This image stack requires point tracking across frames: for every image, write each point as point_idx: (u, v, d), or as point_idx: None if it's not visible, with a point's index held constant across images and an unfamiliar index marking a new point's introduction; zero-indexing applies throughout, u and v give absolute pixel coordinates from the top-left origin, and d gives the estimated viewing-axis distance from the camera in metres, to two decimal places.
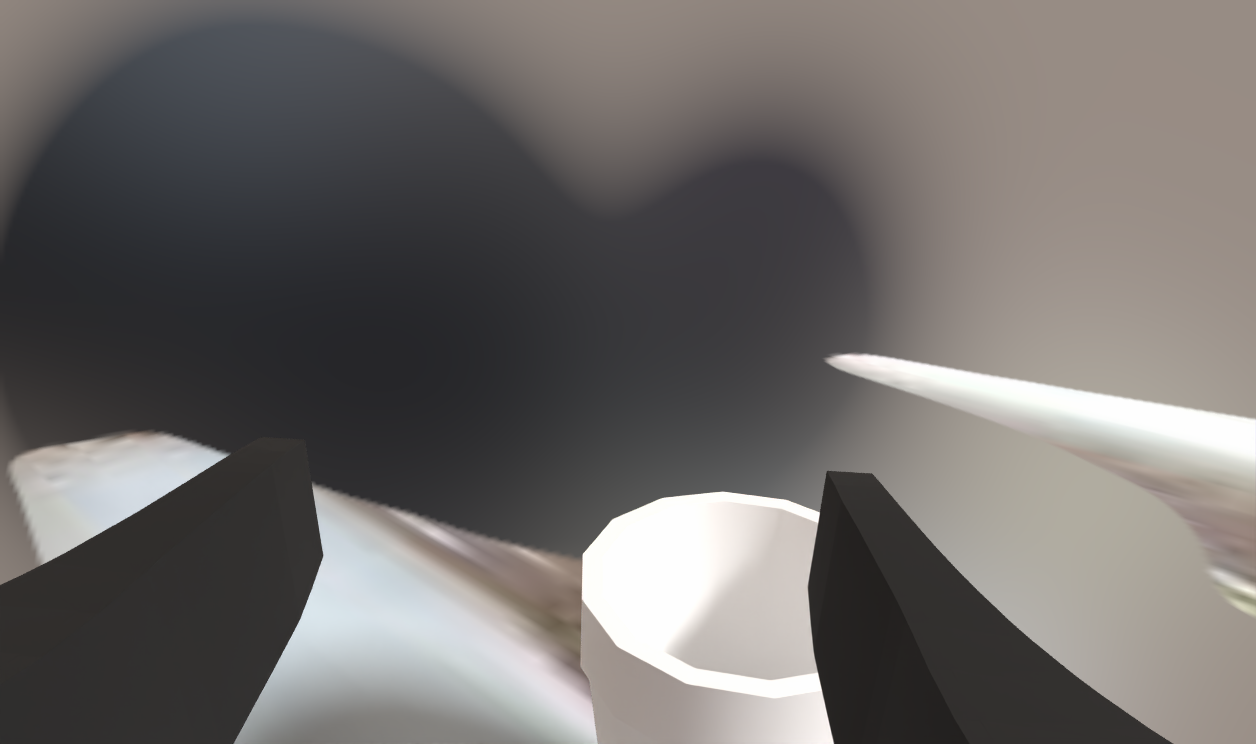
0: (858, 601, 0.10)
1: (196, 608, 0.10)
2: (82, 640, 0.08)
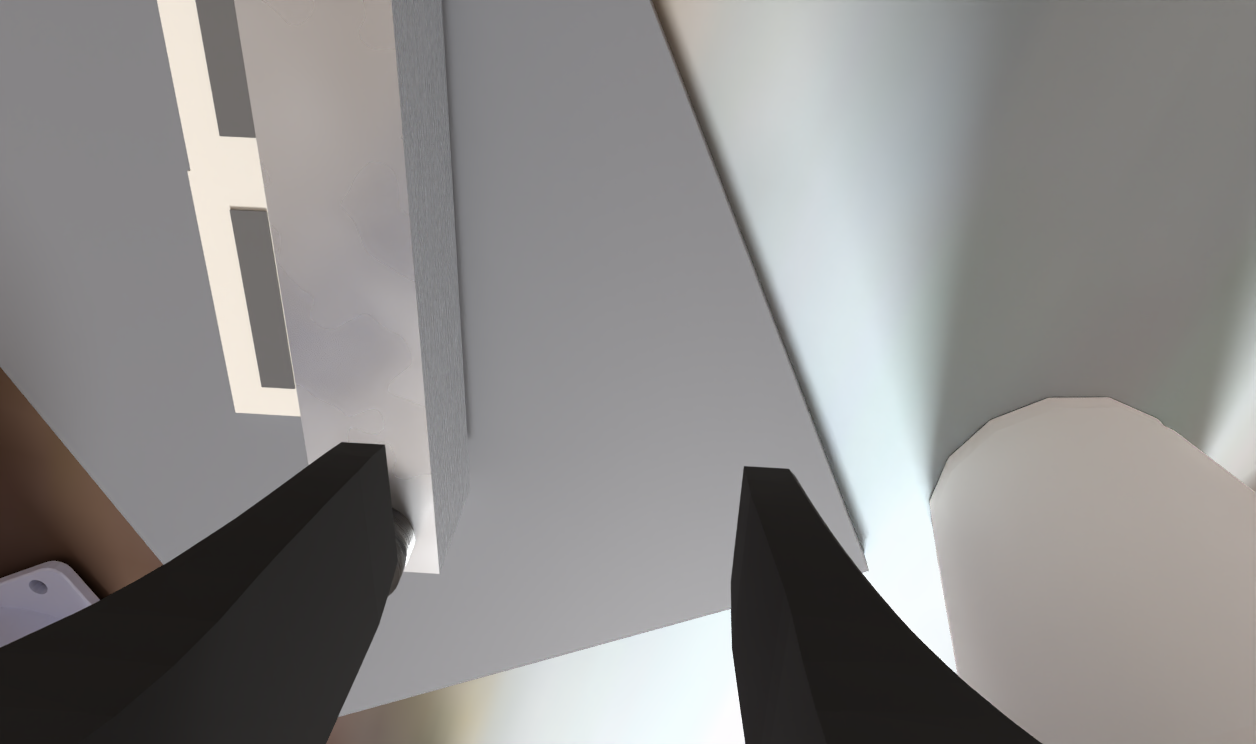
0: (761, 595, 0.10)
1: (295, 614, 0.10)
2: (205, 648, 0.08)
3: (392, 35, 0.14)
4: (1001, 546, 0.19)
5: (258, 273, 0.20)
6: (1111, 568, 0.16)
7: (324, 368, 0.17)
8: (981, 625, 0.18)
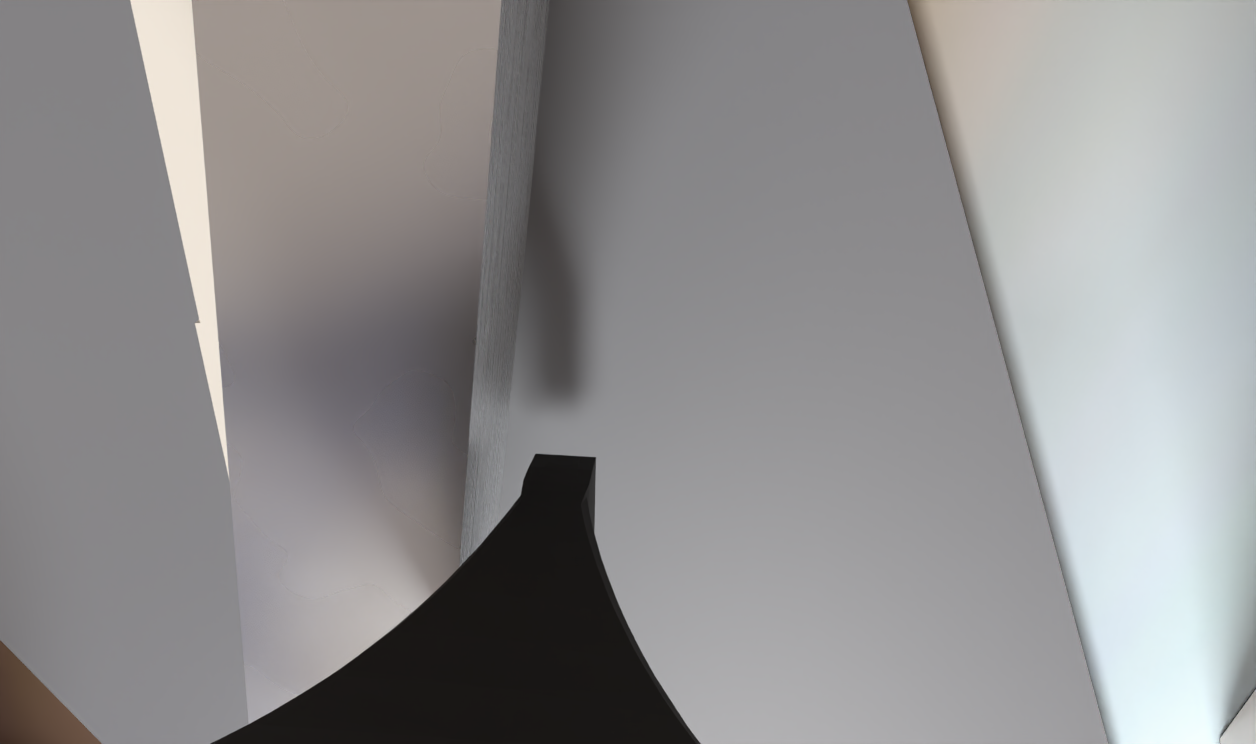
0: None
1: None
2: (529, 670, 0.08)
3: (483, 177, 0.08)
4: None
5: None
6: None
7: (293, 649, 0.11)
8: None
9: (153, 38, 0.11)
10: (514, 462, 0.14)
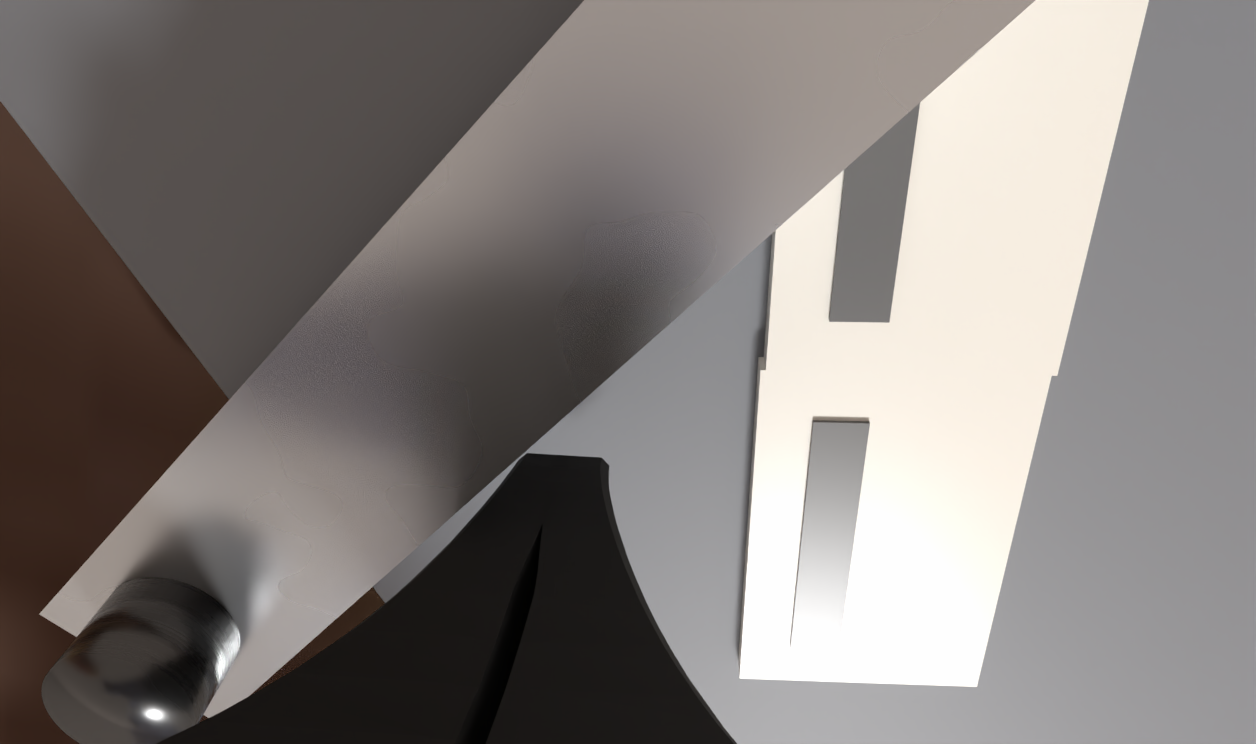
0: None
1: None
2: (490, 667, 0.08)
3: (925, 91, 0.07)
4: None
5: (831, 505, 0.14)
6: None
7: (316, 398, 0.09)
8: None
9: None
10: (1037, 497, 0.14)
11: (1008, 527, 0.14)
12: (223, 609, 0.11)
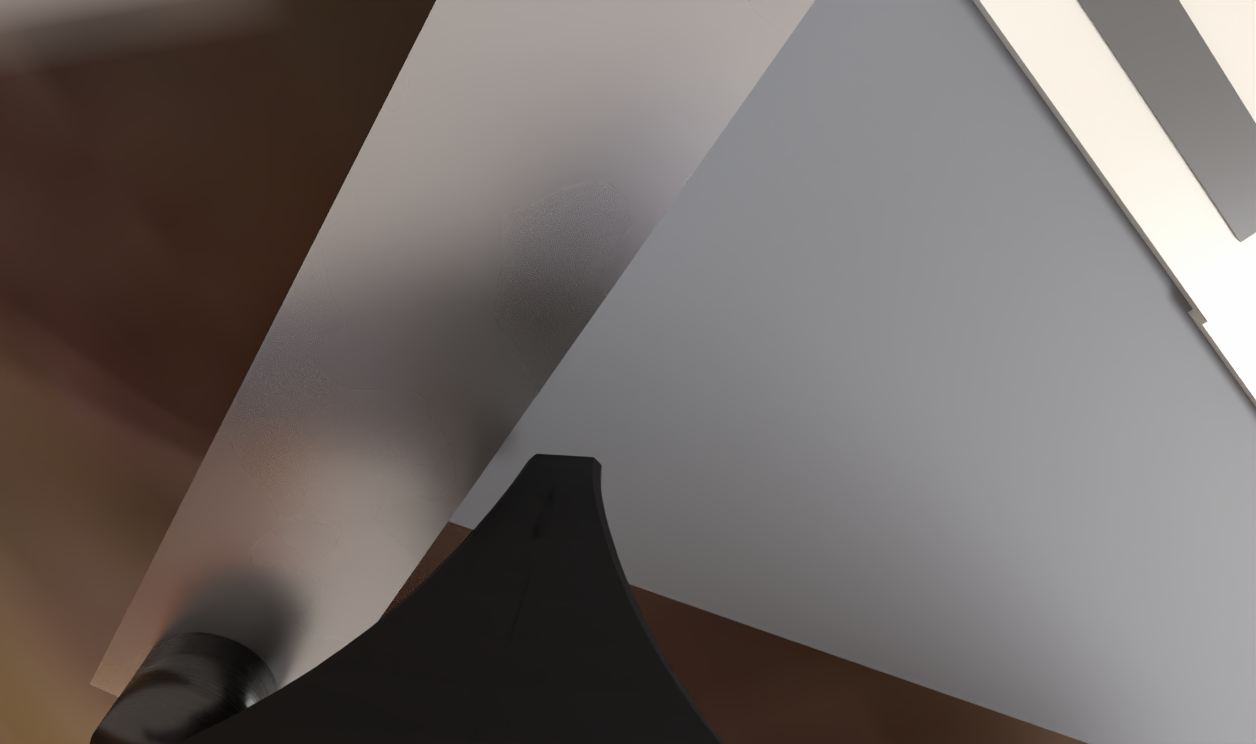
0: None
1: None
2: (505, 668, 0.08)
3: (802, 9, 0.07)
4: None
5: None
6: None
7: (287, 433, 0.09)
8: None
9: (1067, 92, 0.11)
10: None
11: None
12: (253, 654, 0.11)
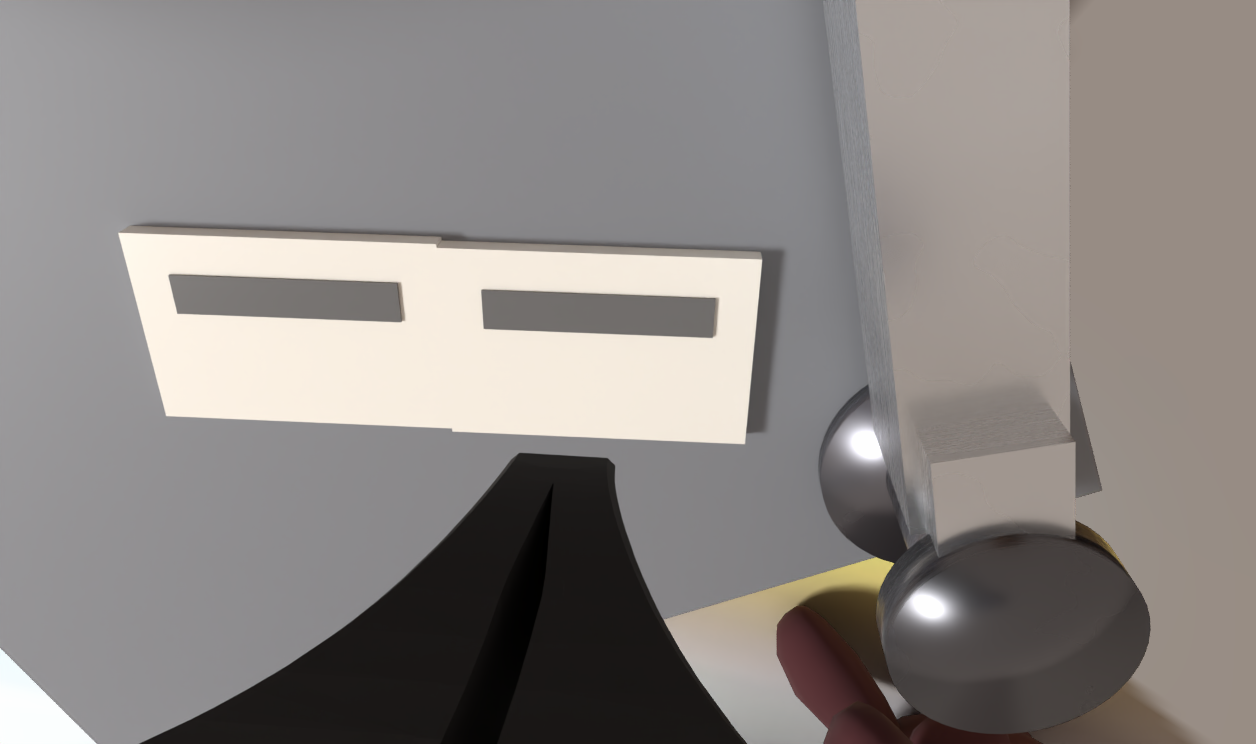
0: None
1: (516, 628, 0.10)
2: (478, 667, 0.08)
3: (883, 251, 0.13)
4: None
5: (323, 300, 0.17)
6: None
7: None
8: None
9: (643, 265, 0.17)
10: (348, 430, 0.19)
11: (325, 418, 0.19)
12: None
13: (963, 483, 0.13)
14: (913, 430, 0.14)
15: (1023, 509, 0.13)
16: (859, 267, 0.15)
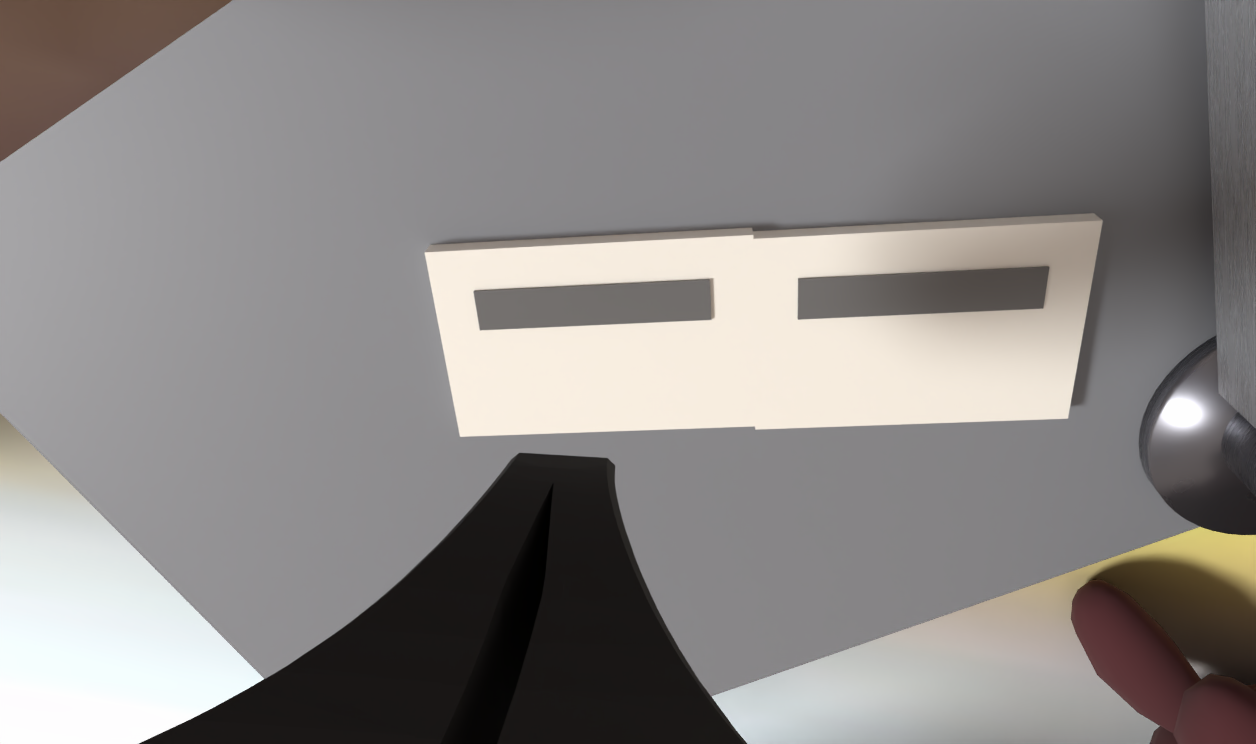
0: None
1: (516, 629, 0.10)
2: (478, 667, 0.08)
3: None
4: None
5: (632, 304, 0.17)
6: None
7: None
8: None
9: (973, 237, 0.16)
10: (639, 437, 0.19)
11: (623, 426, 0.18)
12: None
13: None
14: None
15: None
16: (1232, 217, 0.14)
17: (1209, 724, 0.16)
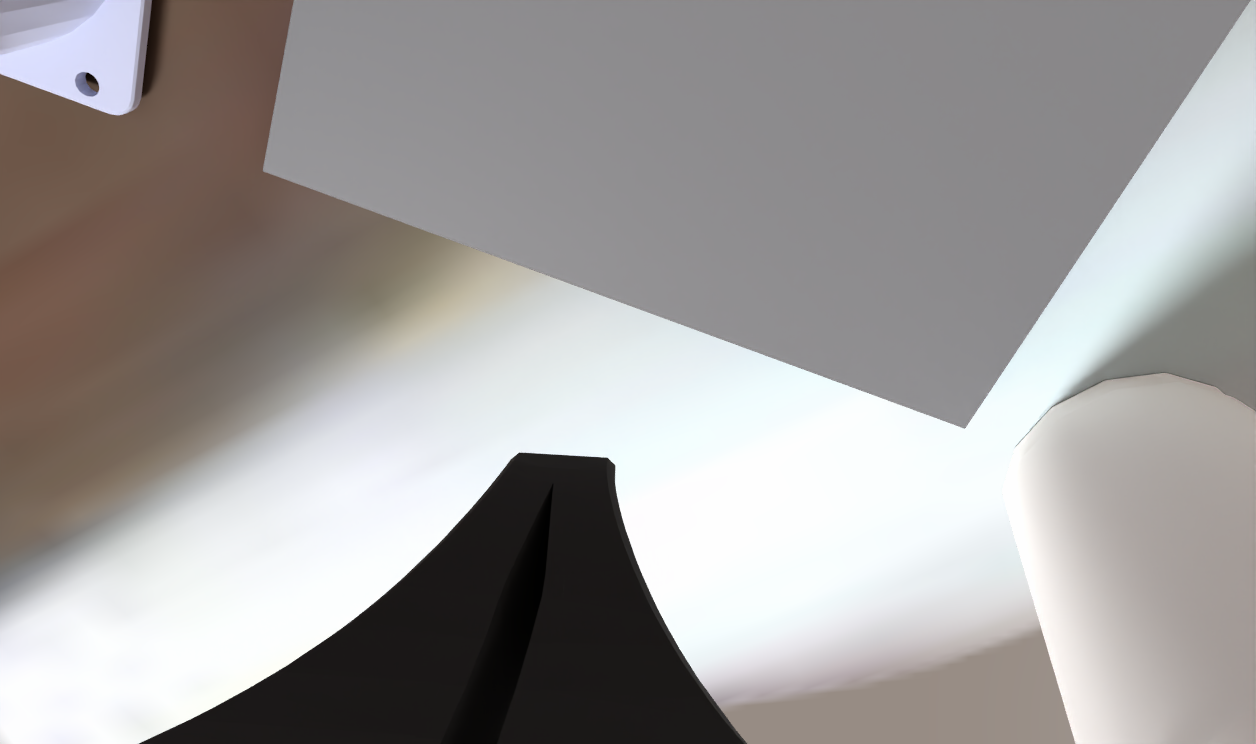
0: None
1: (516, 628, 0.10)
2: (478, 666, 0.08)
3: None
4: (1221, 456, 0.19)
5: None
6: None
7: None
8: (1196, 503, 0.18)
9: None
10: None
11: None
12: None
13: None
14: None
15: None
16: None
17: None
